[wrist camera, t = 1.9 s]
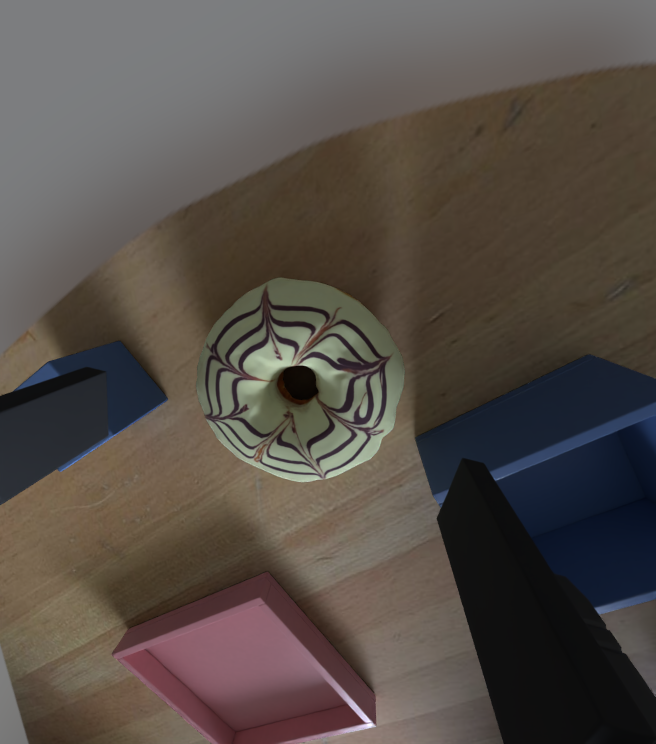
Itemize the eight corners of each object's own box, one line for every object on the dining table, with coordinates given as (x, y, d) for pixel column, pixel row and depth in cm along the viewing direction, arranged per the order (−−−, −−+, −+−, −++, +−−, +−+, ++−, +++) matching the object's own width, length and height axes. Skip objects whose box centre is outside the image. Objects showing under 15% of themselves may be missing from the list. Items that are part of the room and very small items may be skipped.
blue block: (73, 376, 20) (-7, 406, 16) (120, 339, 19) (47, 361, 14) (122, 430, 21) (59, 472, 17) (169, 399, 20) (114, 435, 15)
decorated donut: (433, 336, 17) (453, 355, 13) (341, 477, 20) (337, 521, 17) (262, 244, 16) (235, 236, 13) (198, 405, 20) (162, 435, 16)
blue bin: (414, 437, 19) (432, 495, 14) (589, 353, 16) (685, 388, 11) (486, 551, 21) (523, 635, 16) (651, 493, 18) (754, 573, 13)
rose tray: (127, 628, 28) (110, 654, 26) (267, 571, 24) (259, 597, 22) (236, 729, 31) (228, 759, 30) (375, 695, 27) (376, 726, 25)
